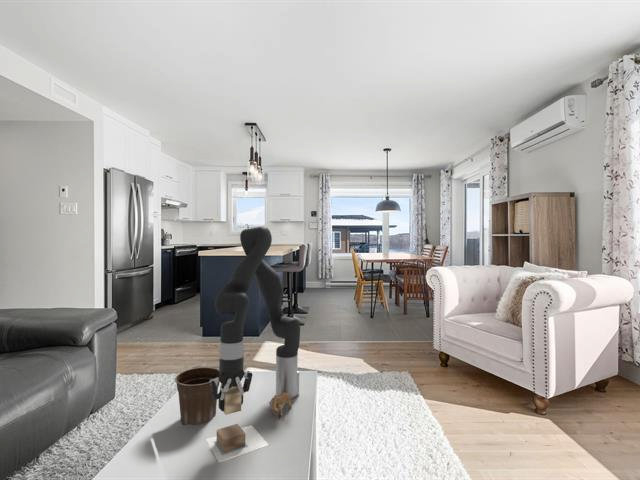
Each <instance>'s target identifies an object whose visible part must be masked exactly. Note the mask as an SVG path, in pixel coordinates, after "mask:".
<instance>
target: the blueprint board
mask: <svg viewBox="0 0 640 480" xmlns="http://www.w3.org/2000/svg"><path fill="white" fill-rule="evenodd" d="M241 428H242V430H243V431H244V432H245V446H243V447H240V448H237V449H234V450H231V451H228V452H226V453H223V451H222V450H221V448H220V447H219V445H218V443H217V435H216V436H212V437H209V438H205V442H206V443H207V444H208V446H209V448H210V449H211V451H212V453H213V454H214V457H215V459H216V460H217V461H218V463H220V464H221V463H222V462H225V461H228V460H231V459H233V458H236V457H239V456H242V455H245V454H247V453H251V452H253V451H256V450H259V449H261V448H264V447H267V446H270V445H269V443H268V442H267V441H266V440H265V439H264V438H263V436H262V435H261V434H260V433H259V432H258V431H257V430H256V429H255V427H254V426H253V425H248V426H244V427H241Z"/></svg>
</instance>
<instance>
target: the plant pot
mask: <svg viewBox="0 0 640 480" xmlns="http://www.w3.org/2000/svg"><path fill="white" fill-rule="evenodd" d="M218 375H219V368H218V369H217V368H215V367H201V366H200V367H194V368H190V369H186V370H183V371H182V372H180V373H178V374H177V375H176V376H175V378H174V382H175V383H176V389H177V392H178V393H177V394H178V402H179V403H178V404H179V413H180V422H181V424H182V425H184V426H186V425H190V426H192V425H193V426H194V425H195V426H196V425H202V424H205V423H207V422H208V423H209V421H211V420H213V419H214V418H215V417H216V414H217V404H218V399H217V400H216V399H215V398H214V397H213V396H212V392H211V388H210V384H209V380H210V379H215V378H217V377H218ZM220 384H221V382H220V381H218V384H217V386H216V388H217V393H218V394H219V387H220Z"/></svg>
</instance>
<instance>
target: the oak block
mask: <svg viewBox="0 0 640 480" xmlns="http://www.w3.org/2000/svg"><path fill="white" fill-rule="evenodd" d="M224 400H225V404H224V411H222V412H223V413H224V414H225V416H227V415H230V414H233V413H234V414H235V413H238V412H241V411H242V406H241V391H239V390H238V388H236V387H231V388H228V390H227V393H226V394H225V397H224Z"/></svg>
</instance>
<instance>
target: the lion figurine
mask: <svg viewBox="0 0 640 480" xmlns="http://www.w3.org/2000/svg"><path fill="white" fill-rule="evenodd" d="M285 403H286V405H288V409H289V410H291V409H292V402H291V398H290V397H289V394H288V393H283V394H282V395H281V396H280V397H278V396H276V395H275V396H274V397H272V398H271V400H270V409H271V410H272V415H273V416H276V413H278V419H279V420H280V419H282V420H283V415H282V413H283V410H284V409H283V408H284V406H285Z"/></svg>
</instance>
